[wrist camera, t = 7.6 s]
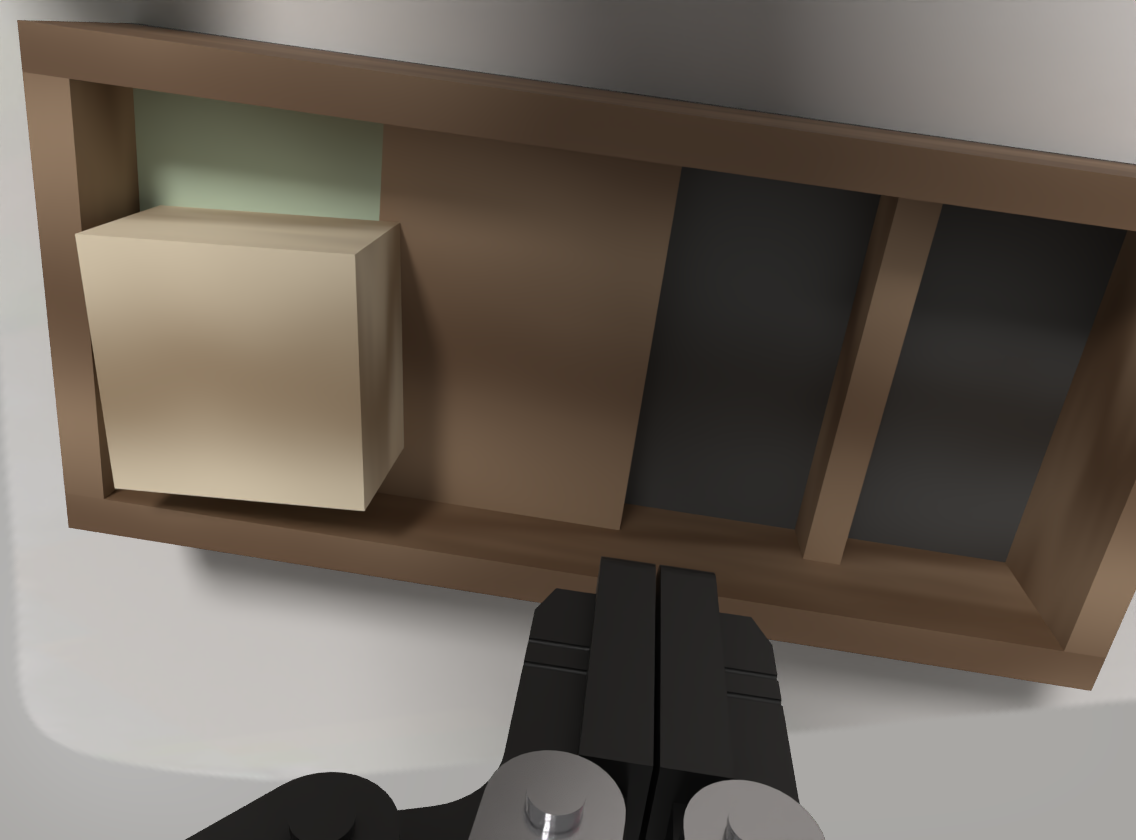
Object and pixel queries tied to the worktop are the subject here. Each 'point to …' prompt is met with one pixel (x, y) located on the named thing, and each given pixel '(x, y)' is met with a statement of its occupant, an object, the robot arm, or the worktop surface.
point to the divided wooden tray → (652, 341)
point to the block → (248, 353)
